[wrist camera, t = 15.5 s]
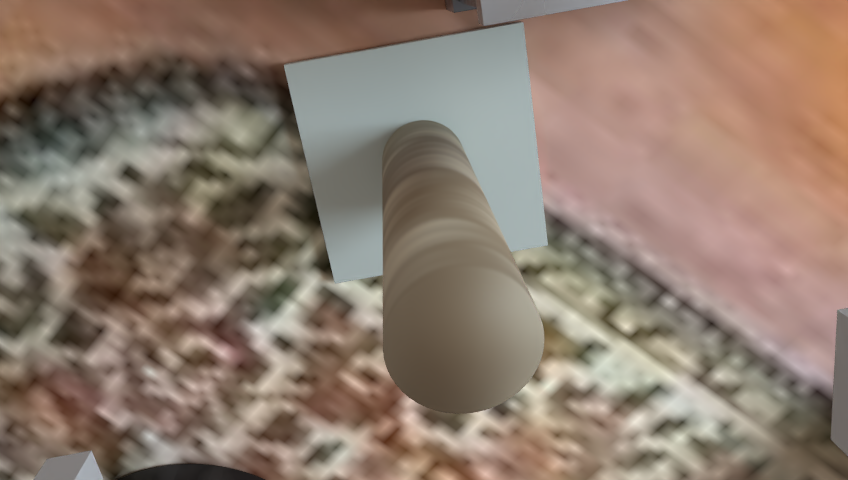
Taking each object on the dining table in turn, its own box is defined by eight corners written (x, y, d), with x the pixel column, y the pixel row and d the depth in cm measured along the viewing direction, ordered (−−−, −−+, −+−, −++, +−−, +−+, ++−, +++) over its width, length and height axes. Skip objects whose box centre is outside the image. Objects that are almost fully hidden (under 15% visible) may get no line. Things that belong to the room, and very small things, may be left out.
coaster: (335, 278, 33) (334, 283, 32) (285, 63, 29) (283, 65, 29) (544, 240, 33) (547, 245, 32) (520, 21, 29) (523, 22, 29)
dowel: (390, 206, 31) (398, 425, 16) (375, 128, 30) (368, 287, 15) (469, 192, 31) (551, 398, 16) (458, 113, 30) (535, 257, 15)
